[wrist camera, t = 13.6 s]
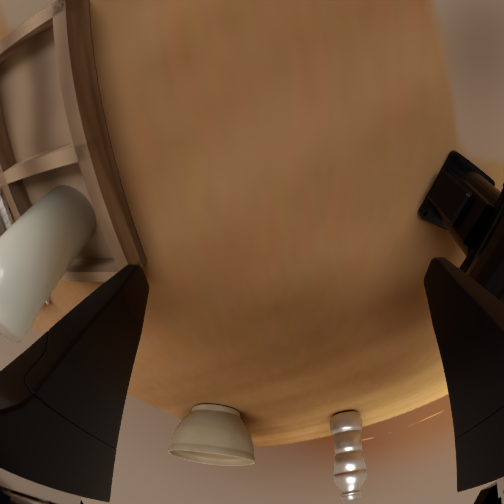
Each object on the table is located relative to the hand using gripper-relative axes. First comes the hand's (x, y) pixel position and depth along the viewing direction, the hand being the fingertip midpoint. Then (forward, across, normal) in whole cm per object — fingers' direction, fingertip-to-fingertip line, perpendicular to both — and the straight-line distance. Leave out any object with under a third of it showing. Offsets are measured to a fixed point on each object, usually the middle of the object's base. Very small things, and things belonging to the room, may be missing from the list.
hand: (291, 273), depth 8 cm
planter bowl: (+13, +12, +49) cm, 53 cm away
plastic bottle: (+13, -14, +52) cm, 55 cm away
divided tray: (+13, +18, -2) cm, 23 cm away
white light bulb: (+12, +18, +4) cm, 22 cm away
